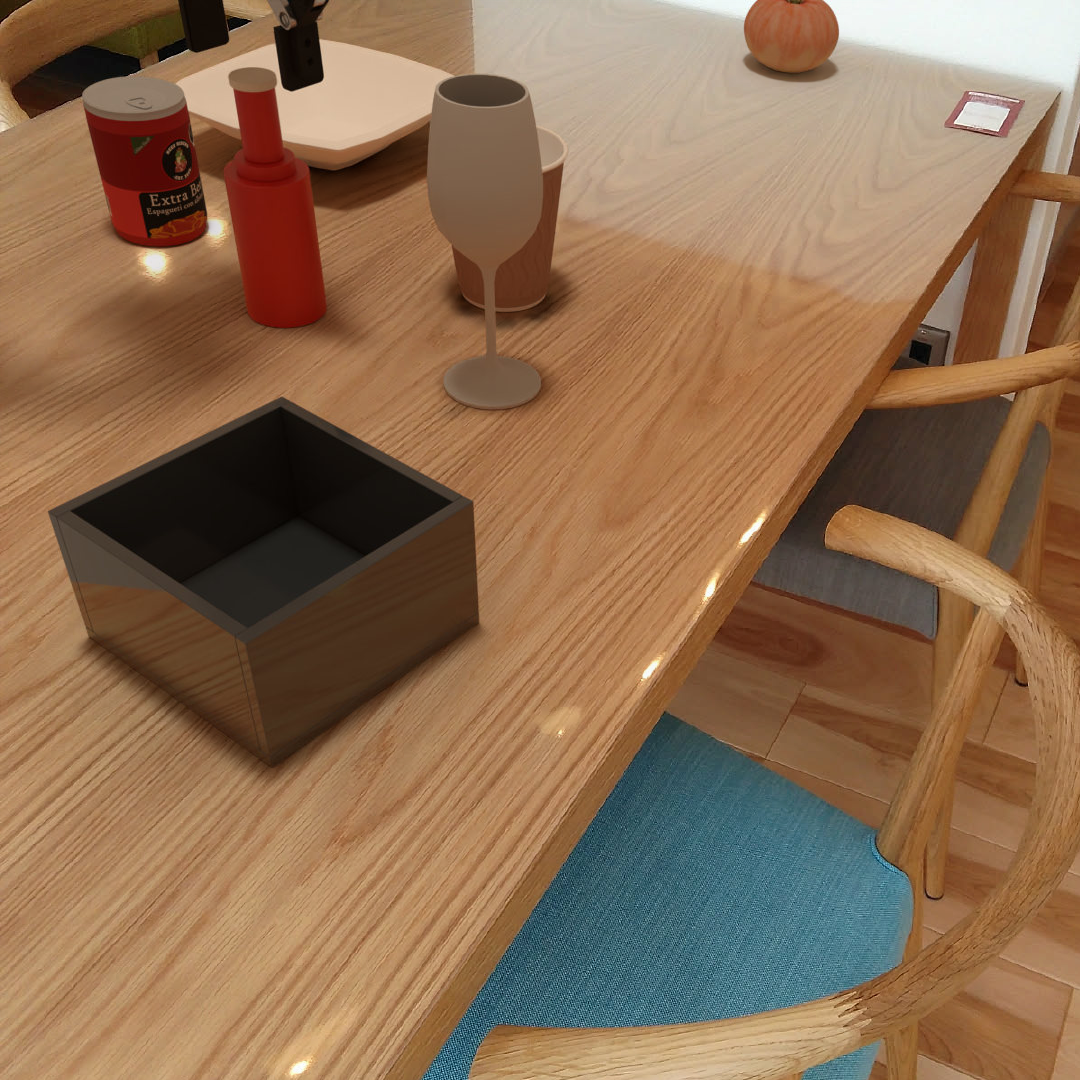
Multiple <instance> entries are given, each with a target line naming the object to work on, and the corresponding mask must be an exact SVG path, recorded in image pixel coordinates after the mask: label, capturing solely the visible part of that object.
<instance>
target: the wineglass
mask: <svg viewBox="0 0 1080 1080" xmlns="http://www.w3.org/2000/svg"><path fill="white" fill-rule="evenodd" d="M536 125H537V123H536V116H535V112H534V107H533V101H532V99H531V94H530V90H529V88H528V87H527V86H526V85H525V84H524V83H522V82H521V81H519V80H516V79H514V78H511V77H508V76H503V75H498V74H490V73H463V74H458V75H454V76H453V77H449V78H446V79H444V80H442V81H440V82H439V83H438V84H437V85H436V88H435V92H434V98H433V105H432V113H431V121H429V131H428V146H427V166H426V185H427V187H426V188H427V198H428V202H429V203H428V204H429V208H430V212H431V216H432V218H433V221H434V223H435V224H436V227H437V229H438V231H439V232H440V233H441V235H442V236H443V237H444V238H445V239H446V240H447V241H448V243H449V244H450V245H451V247H452V246H453V247H454V248H455V249H457V250H458V251H459V252H460V253H462V254H463V255H464V256H466V257H467V258H468V259H470V260H471V261H473V262H474V263H476V264H477V265H478V266H479V268H480V270H481V271H482V276H483V281H484V298H485V309H484V320H485V347H486V349H485V351H486V352H485V355H481V356H473V357H471V358H467V359H463V360H461V361H459V362H457V363H454V364H453V365H452V366H451V367H449V368H448V369H447V370H446V372H445V373H444V375H443V379H442V380H443V381H442V383H443V384H442V385H443V387H444V388H443V389H444V391H445V392H446V393H447V395H448V396H449V397H450V398H451V399H453V401H454V400H455V402H457V403H460V404H462V405H464V406H467V407H471V408H474V409H481V410H491V411H492V410H505V409H506V410H507V409H511V408H517V407H519V406H522V405H524V404H526V403H528V402H530V401H532V400H533V399H534V398H535V397H537V396H538V394H539V393H540V391H541V389H542V378H541V376H540V373H539V372H538V371H537V370H536V368H535V367H534V366H532V365H530V364H529V363H528V362H524V361H522V360H520V359H518V358H514V357H509V356H503V355H498V351H497V326H496V325H497V323H496V322H497V321H496V311H495V290H494V281H495V274H496V270H497V269H498V267H499V265H500V264H502V263H503V262H504V261H506V260H507V259H509V258H510V257H511V256H512V255H514V254H515V253H516V252H517V251H519V250H520V249H521V248H522V247H523V246H524V245H525V244H526V242H527V241H528V240H529V239H530V238H531V236H532V235H533V234H534V232H535V230H536V228H537V225H538V223H539V220H540V218H541V211H542V202H543V175H542V165H541V157H540V149H539V141H538V134H537V128H536Z"/></svg>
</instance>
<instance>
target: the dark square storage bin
mask: <svg viewBox="0 0 1080 1080" xmlns="http://www.w3.org/2000/svg"><path fill="white" fill-rule="evenodd" d="M47 513H48V517H49V521H50V523H51V526H52V529H53V532H54V535H55V538H56V542H57V544H58V547H59V550H60V554H61V556H62V560H63V562H64V566H65V568H66V573H67V575H68V578H69V581H70V583H71V587H72V590H73V593H74V597H75V600H76V602H77V605H78V608H79V611H80V615H81V617H82V621H83V623H84V627H85V631H86V633H87V636H88V637H89V638H90V639H92V640H93V641H94V642H96V643H97V644H98V645H99V646H101V647H102V648H104V649H105V650H107V651H108V652H110V653H111V654H113V655H114V656H115V657H116V658H118V659H119V660H121V661H122V662H124V663H125V664H127V665H128V666H130V667H131V668H132V669H134V670H135V671H137V672H138V673H139V674H141V675H142V676H144V677H145V678H146V679H147V680H149V681H151V682H152V683H153V684H155V685H156V686H158V687H159V688H160V689H162V690H163V691H164V692H166V693H167V694H168V695H170V696H171V697H173V698H174V699H175V700H177V701H178V702H179V703H181V704H183V706H185V707H186V708H188V709H190V710H191V711H192V712H194V713H195V714H196V715H198V716H199V717H201V718H202V719H203V720H205V721H206V722H207V723H209V724H211V725H212V726H213V727H215V728H216V729H218V730H219V731H220V732H222V733H223V734H225V735H226V736H227V737H228V738H230V739H231V740H233V741H234V742H236V743H237V744H239V745H240V746H241V747H242V748H244V749H246V750H247V751H248V752H250V753H251V754H253V755H254V756H255V757H257V758H258V759H260V760H261V761H262V762H264V763H265V764H267V766H269V767H271V768H275V767H276V766H278V765H279V764H280V763H282V762H283V761H284V760H286V759H287V758H289V757H290V756H291V755H293V754H294V753H296V752H297V751H298V750H300V749H301V748H303V747H305V746H306V745H307V744H308V743H310V742H312V741H313V740H314V739H316V738H317V737H318V736H320V735H322V734H323V733H324V732H325V731H327V730H328V729H329V728H331V727H332V726H335V725H336V724H337V723H338V722H340V721H341V720H342V719H344V718H345V717H347V716H348V715H350V714H351V713H352V712H354V711H356V709H359V708H360V707H361V706H363V705H364V704H365V703H366V702H368V701H370V700H371V699H373V698H374V697H375V696H376V695H379V693H381V692H382V691H384V690H385V689H387V688H388V687H389V686H391V685H392V684H394V683H395V682H396V681H397V680H398V681H399V679H401V678H402V677H403V676H405V675H406V674H408V673H409V672H410V671H412V670H413V669H415V668H416V667H418V666H420V664H422V663H423V662H425V661H426V660H427V659H429V658H431V656H433V655H434V654H436V653H438V652H439V651H441V649H443V648H444V647H446V646H447V645H449V644H451V642H453V641H454V640H456V639H458V637H460V636H462V635H463V634H464V633H466V632H468V631H469V630H470V629H471V628H473V627H474V626H476V625H477V624H479V623H480V606H479V604H480V603H479V587H478V566H477V565H478V564H477V546H476V544H477V543H476V524H475V504H474V500H472V499H470V498H468V497H467V496H464V495H463V494H461V493H459V492H457V491H455V490H454V489H452V488H450V487H448V486H446V485H445V484H442V483H441V482H439V481H437V480H435V479H434V478H431V477H430V476H428V475H426V474H424V473H422V472H420V471H419V470H417V469H415V468H414V467H412V466H410V465H408V464H406V463H404V462H403V461H401V460H399V459H397V458H395V457H394V456H391V454H390V455H389V454H388V453H386V452H384V451H382V450H381V449H379V448H377V447H375V446H373V445H371V444H370V443H368V442H366V441H364V440H362V439H361V438H359V437H357V436H355V435H353V434H352V433H350V432H348V431H346V430H345V429H343V428H340V427H338V426H337V425H335V424H334V423H332V422H330V421H327V420H326V419H324V418H322V417H320V416H319V415H317V414H316V413H313V412H311V411H310V410H308V409H306V408H304V407H302V406H301V405H299V404H297V403H296V402H293V401H291V400H289V399H288V398H286V397H284V396H279V397H277V398H275V399H274V400H271V401H269V402H268V403H265V404H263V405H261V406H259V407H257V408H255V409H253V410H251V411H249V412H247V413H245V414H243V415H241V416H239V417H237V418H234V419H233V420H231V421H229V422H227V423H224V424H222V425H220V426H218V427H216V428H214V429H212V430H210V431H208V432H206V433H204V434H201V435H200V436H198V437H196V438H194V439H191V440H190V441H187V442H186V443H183V444H182V445H180V446H178V447H175V448H172V449H171V450H169V451H167V452H165V453H163V454H161V455H159V456H157V457H155V458H153V459H151V460H148V461H147V462H145V463H143V464H141V465H139V466H136V467H134V468H132V469H130V470H128V471H126V472H125V473H122V474H120V475H118V476H117V477H114V478H112V479H110V480H107V481H106V482H104V483H102V484H100V485H98V486H96V487H94V488H92V489H89V490H88V491H86V492H84V493H82V494H80V495H77V496H75V497H74V498H73V497H72V498H71V499H70V500H68V501H65V502H63V503H60V504H59V505H56V506H55V507H53V508H51V509H49V510H48V511H47Z"/></svg>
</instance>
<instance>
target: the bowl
mask: <svg viewBox="0 0 1080 1080" xmlns="http://www.w3.org/2000/svg"><path fill="white" fill-rule="evenodd" d="M319 40H320V48H321V56H322V64H323V72H324V79H323V81H322V82H320V83H317V84H314V85H311V86H308V87H305V88H302V89H299V90H296V91H293V92H290V91H288V90H285V89H284V88H283V87H282V84H281V77H280V71H279V64H278V57H277V50H276V44H275V43H271V44H267V45H264V46H262V47H258V48H255V49H253V50H251V51H249V52H246V53H243V54H240V55H238V56H235V57H233V58H230V59H227V60H224V61H222V62H220V63H217V64H215V65H212V66H210V67H208V68H207V67H206V68H205V69H202V70H199V71H197V72H195V73H192V74H190V75H187V76H185V77H182V78H181V79H179V80H178V81H177V82H174V84H176V85H178V86H179V87H180V88H181V89H182V90H183V92H184V96H185V98H186V102H187V107H188V112H189V116H192V117H193V118H196V119H198V120H199V121H201V122H202V123H205V124H207V125H208V126H210V127H212V128H214V129H216V130H218V131H220V132H222V133H224V134H225V135H228V136H230V137H232V138H234V139H237V140H239V141H242V140H241V134H240V128H239V122H238V115H237V109H236V103H235V97H234V91H233V88H232V87H231V86H230V84H229V79H228V75H229V73H230V72H232V71H234V70H236V69H240V68H246V67H259V68H265V69H269V70H271V71H273V72H274V73H275V74H276V77H277V86H276V87H275V91H276V98H277V105H278V112H279V120H280V127H281V134H282V141H283V147H284V148H287V149H289V150H291V151H292V152H293V153H294V155H295V158H298V159H300V160H302V161H303V162H305V163H306V164H307V166H308V167H312V168H317V169H323V170H328V171H335V172H336V171H338V170H342V169H344V168H349V167H351V166H354V165H356V164H359V162H360V163H361V162H362V161H363V160H366V159H367V158H370V157H371V156H374V155H375V154H377V153H380V152H381V151H383V150H384V149H386V148H388V147H390V145H391V144H392V143H395V142H396V141H398V140H400V139H402V138H404V137H407V136H408V135H409V134H412V133H414V132H416V131H417V130H420V129H421V128H423V127H424V126H426V125H427V124H428V123H430V121H431V113H432V105H433V98H434V92H435V88H436V85H437V84H438V83H439V82H440V81H442V80H444V79H446V78H449V77H453V76H455V75H454V74H452V73H449V72H447V71H444V70H443V69H440V68H437V67H433V66H431V65H427V64H424V63H421V62H419V61H415V60H412V59H409V58H406V57H403V56H401V55H397V54H394V53H388V52H384V51H380V50H376V49H373V48H372V49H371V48H367V47H364V46H359V45H354V44H351V43H346V42H340V41H334V40H328V39H322V38H319Z"/></svg>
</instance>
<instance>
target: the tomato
mask: <svg viewBox="0 0 1080 1080" xmlns="http://www.w3.org/2000/svg"><path fill="white" fill-rule="evenodd" d="M743 22H744V23H743V35H744V38H745V39H744V40H745V43H746V46H747V48H748V50H749V52H750V54H751V55H752V56H753V57H754V58H755V59H756V61H758V62H760V63H761V64H762V65H764V66H765V67H767V68H770V69H771V70H774V71H777V72H781V73H788V74H790V73H791V74H792V73H793V74H794V73H795V74H797V73H804V72H807V71H810V70H811V71H812V70H813V69H816V68H817V67H820V65H822V64H824V63H825V62H826V61H827V60H828V59H829V58H830V57H831V56H832V54H834V53H833V52H835V51H834V50H835V49H836V47H837V45H838V41H839V37H840V26H839V22H838V19H837V16H836V14H835V12H834V10H833V9H832V6H830V5H829V4H828V3H827V2H826V1H825V0H756V1H754V3H753V4H752V5H751V6H750V7H749V9H748V11H747V13H746V16H745V18H744V21H743Z"/></svg>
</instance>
